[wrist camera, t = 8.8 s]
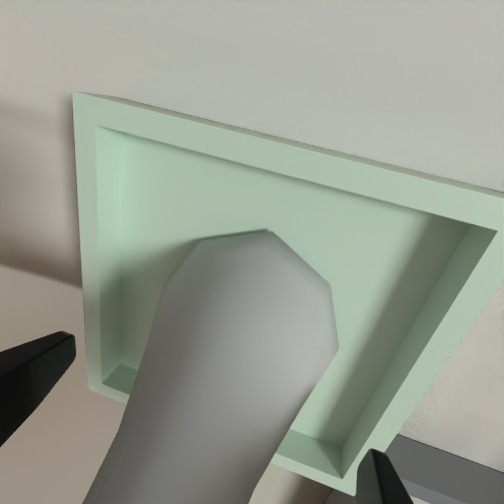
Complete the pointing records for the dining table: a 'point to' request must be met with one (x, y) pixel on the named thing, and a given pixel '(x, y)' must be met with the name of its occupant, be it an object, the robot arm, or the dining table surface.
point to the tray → (297, 238)
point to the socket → (437, 476)
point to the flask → (220, 375)
